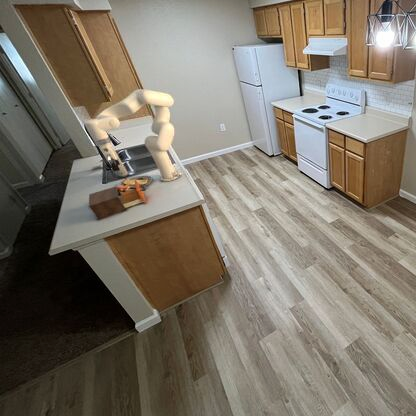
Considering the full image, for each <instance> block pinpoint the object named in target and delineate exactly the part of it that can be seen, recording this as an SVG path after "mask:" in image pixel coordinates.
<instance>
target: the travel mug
mask: <svg viewBox="0 0 416 416" xmlns="http://www.w3.org/2000/svg"><path fill="white" fill-rule="evenodd" d="M115 152H116V153H117V151H116V150H115ZM117 159H118V161H119V163H120V165H118V167H119V169H120V170H118V171H115V172H116V174H117V176H118V177H119V178H125V177H127V176H128V175H129V172H128V171H127V168H126V167H125V165H124V164H123V162H122V160H121V158H120V156H119V155H118V158H117Z"/></svg>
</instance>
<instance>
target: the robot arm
mask: <svg viewBox="0 0 416 416" xmlns="http://www.w3.org/2000/svg"><path fill="white" fill-rule="evenodd" d="M174 101H175V100H174V98H173V96H172V95H170V93H166V92H160V91H155V90H151V89H142V88H138V89H135V90H133V91H132V92H131V93H130V94H129V95H127V96H126V97H124V98H123V99H122V100H121V101H118V102H117V103H115V104H113V105H111V106H109V107H107V108H105V109H104V110H103V111H101V112H100V113H99V114H97V115H96V117H95V118H92V119H87V120H85V121H84V122H83V124H84V126H85V129H86V130H87V132H88V134H89V135H90V137H91V139H92V140H93V143H94V144H95V146H96V147H99V149H100V151H101V152H102V154H103V156H104V158H105V160H106V161H107V162H108V163H109V166H110V167H111V169H112V171H113V172H116V171H118V170H120V169H119V167H118V165H120V163H119V161H118V159H117V158H118V156H119V155H118V153H117V151H116V150H115V148H114V146H113V144H112V140H111V138H110V136H109V134H108V132H107V131H114V130H117V129H118V128H119V127H120V125H121V124H120V123H121V122H120V120H119V119H120V118H123V117H127V116H131V115H134V114H135V113H136V112H137V111H139V110H140V109H141V108H142V107H143V106H145V105H151V106H153V107H154V109H155V113H154V118H153V121H152V123H151V127H150V128H151V133H153V134H155V135H148V136H146V137H145V139H144V145H145V148H146V149H147V151H148V152H149V153H150V155H151V157H152V159H153V161H154V162H155V165H156V167H157V169H158V171H159V173H160V176H161V177H160V181H162V182H171V181H174V180H176V179H178V178H179V177H180V176H182V172H181V171H180V170H179V171H178V170H177V169H175V167H174V166H173V162H172V161H171V157H169V156H170V155H169V154H168V152H167V151H169V150H170V148H171V145H172V143H173V140H174V137H175V133H176V132H175V126H174V124H172V123H171V122H170V119H171V111H170V109H169V108H170V107H173V105H174V103H175V102H174ZM115 151H116V152H115Z"/></svg>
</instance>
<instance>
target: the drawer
mask: <svg viewBox="0 0 416 416" xmlns="http://www.w3.org/2000/svg"><path fill="white" fill-rule="evenodd" d="M134 182H135V186H136V189H137V192H138V194H139V196H140V199H137V200H134V201H131V202H128V203H126V202H125V201H124V199H123V197H122V195H121V196H118V198H119V199H120V201H121V202H122V204H123V205H124V207H125V208H126V209H127V208H129V207H132V206H135V205H138V204H142V203H143V204H146V203H147V200H146V198H145V194H144V192H145V191H146V190H147V189H146V186H144V185H142V186H139V184H138V182H137V181H136V180H135V181H134ZM141 187H142V188H141Z"/></svg>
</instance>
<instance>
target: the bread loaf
mask: <svg viewBox="0 0 416 416" xmlns="http://www.w3.org/2000/svg"><path fill="white" fill-rule="evenodd" d="M121 194H122V197H123V199H124V201H125V202H126V203H128V202H131V201H134V200H137V199H140V196H139V194H138V192H137V190H135V189H133V190H130V191H127V192H124V193H121Z"/></svg>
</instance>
